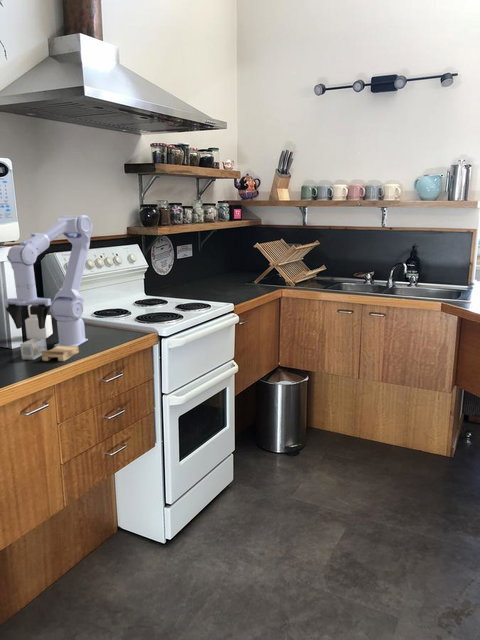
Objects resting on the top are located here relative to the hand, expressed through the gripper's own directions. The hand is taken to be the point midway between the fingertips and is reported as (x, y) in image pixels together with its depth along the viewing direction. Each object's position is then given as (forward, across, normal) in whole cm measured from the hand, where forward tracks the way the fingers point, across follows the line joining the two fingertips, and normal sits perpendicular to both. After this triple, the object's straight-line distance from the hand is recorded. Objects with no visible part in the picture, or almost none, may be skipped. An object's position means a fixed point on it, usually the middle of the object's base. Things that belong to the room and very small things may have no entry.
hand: (30, 328), depth 163 cm
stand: (+9, +8, +1) cm, 13 cm away
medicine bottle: (+10, -12, +26) cm, 30 cm away
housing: (+10, -1, +2) cm, 10 cm away
